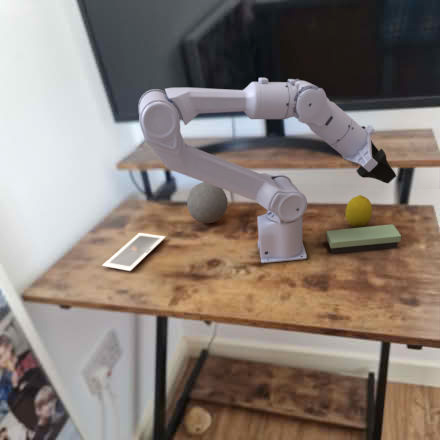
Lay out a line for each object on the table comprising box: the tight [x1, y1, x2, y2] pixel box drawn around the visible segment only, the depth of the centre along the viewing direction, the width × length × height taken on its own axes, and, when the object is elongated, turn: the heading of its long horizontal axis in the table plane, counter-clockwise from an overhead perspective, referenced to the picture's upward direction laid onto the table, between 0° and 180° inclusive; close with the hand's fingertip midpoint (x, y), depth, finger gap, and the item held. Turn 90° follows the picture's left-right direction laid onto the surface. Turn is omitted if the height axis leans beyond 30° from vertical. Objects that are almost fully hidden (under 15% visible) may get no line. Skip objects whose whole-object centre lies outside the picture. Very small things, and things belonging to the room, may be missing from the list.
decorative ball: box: [186, 182, 228, 224], centre depth 100 cm, size 10×10×10 cm
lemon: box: [344, 194, 373, 228], centre depth 89 cm, size 6×6×8 cm
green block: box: [325, 224, 402, 255], centre depth 85 cm, size 14×5×3 cm, turn 90°
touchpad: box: [101, 232, 167, 272], centre depth 93 cm, size 8×15×2 cm, turn 155°
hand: (384, 169), depth 80 cm, fingers open, 7 cm apart
